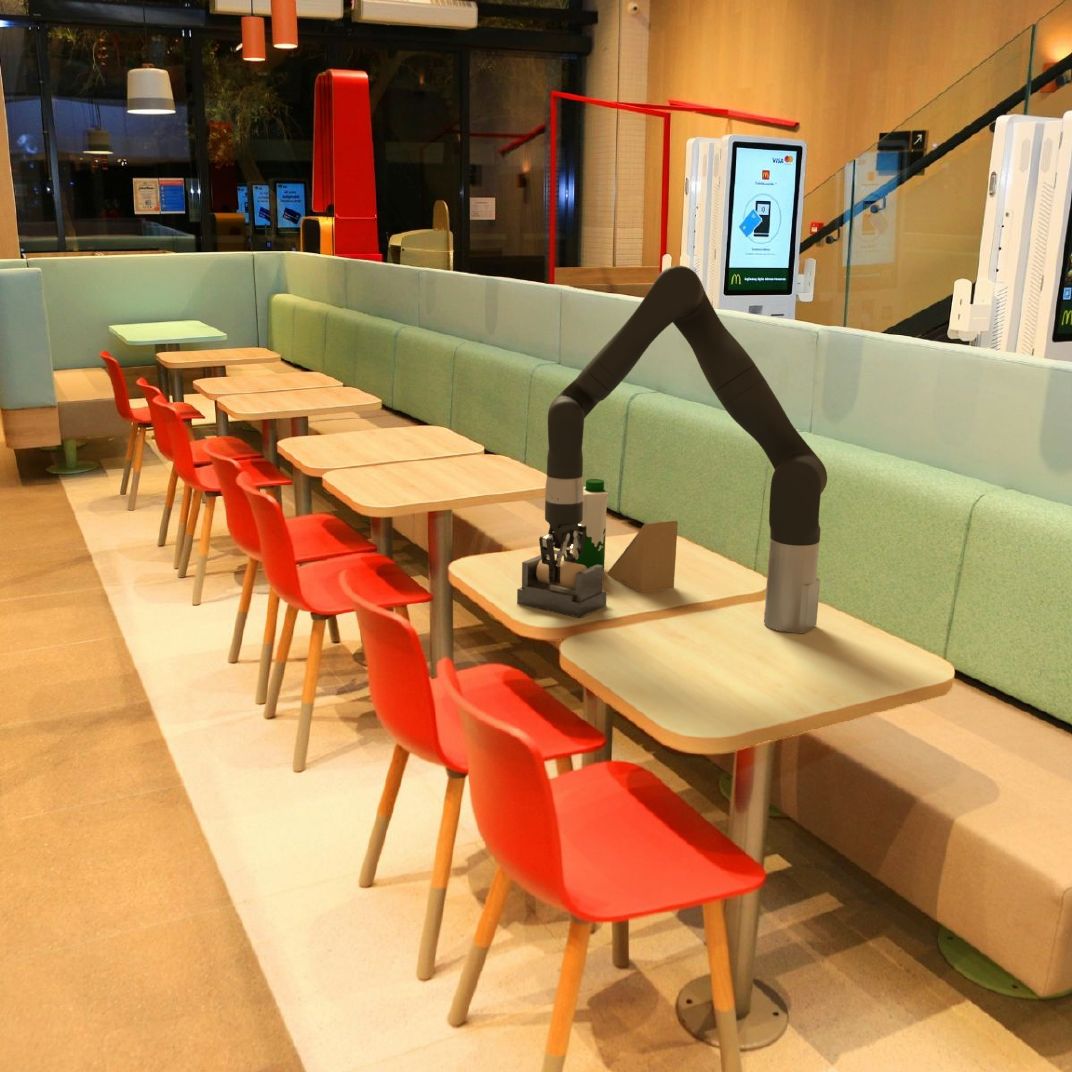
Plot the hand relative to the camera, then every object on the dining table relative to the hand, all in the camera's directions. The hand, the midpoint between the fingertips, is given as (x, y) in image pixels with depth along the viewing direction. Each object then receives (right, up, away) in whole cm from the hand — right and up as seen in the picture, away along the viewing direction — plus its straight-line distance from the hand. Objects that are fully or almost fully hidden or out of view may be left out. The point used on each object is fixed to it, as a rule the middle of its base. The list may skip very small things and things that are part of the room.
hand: (562, 579), depth 230 cm
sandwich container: (+17, -1, +18) cm, 25 cm away
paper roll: (0, -1, 0) cm, 1 cm away
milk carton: (+5, +1, +26) cm, 27 cm away
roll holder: (0, -5, +1) cm, 5 cm away
